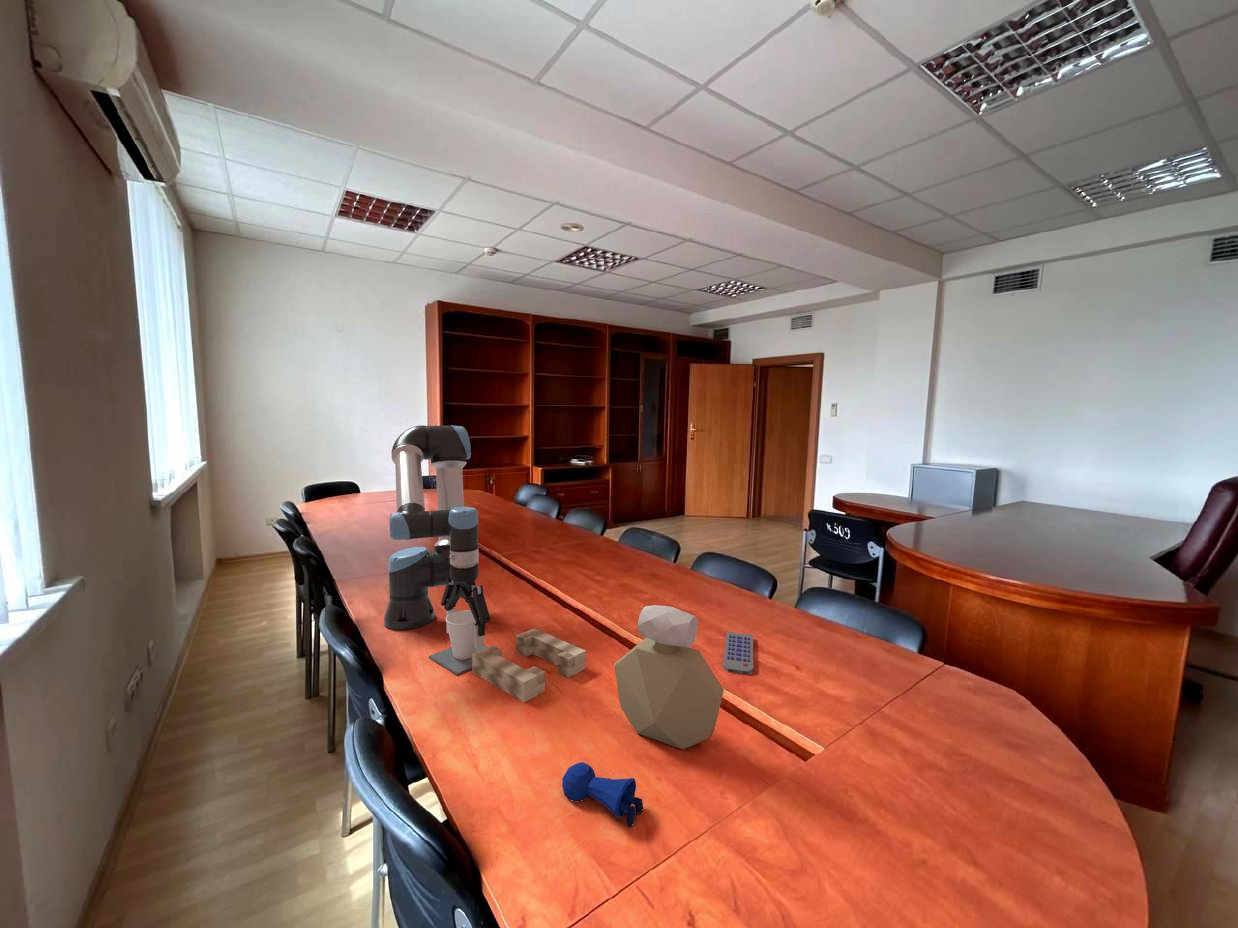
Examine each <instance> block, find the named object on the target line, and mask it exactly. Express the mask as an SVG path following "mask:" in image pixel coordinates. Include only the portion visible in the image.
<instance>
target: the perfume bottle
mask: <svg viewBox="0 0 1238 928" xmlns="http://www.w3.org/2000/svg"><path fill="white" fill-rule="evenodd" d="M637 621H638V622H637V631H638V633H639V635H640V636H643V637H644V638H643V639H642V640H641V641H640V642H638V644H636V645H635V646H633V648H631V649H630V650H629V651H628V652H627V653H626V654H624V655H623V656H622V657H620V659H618V660H617V661H616V662H615V663H613V666H614V673H615V679H616V680H615V681H616V685H617V693H618V700H619V706H620V707H619V708H620V709H621V711H622V712H623V714H624V715H625V717H626V718H627V720H628V722H629V723H630V724H631V726H632V728H633V729H634V731H635V732H636V734H638V735H641V736H643V737H647V738H649V739H653V740H654V741H658V742H660V743H664V744H665V745H669V746H671V747H674V748H677V749H680V750H686V749H688V748H691V747H693V746H695V745H696V744H699V743H701V742H703V741H705V740H707V739H709V738H711V737H712V735H713V733H714V731H715V729H716V725H717V720H718V716H719V712H720V707H721V704H722V699H723V695H724V691H725V689H724V688H723V686H722V684H721V682H720V681H719V680H718V678H717V676H716V675H715V674H714V672H713V670H712V669H711V668H710V666H709V664H708V662H707V661H706V660H705V658H704V656H703V655H702V653H701V651H700V650H699V649H697V648H691V647H692V646H693V645H694V643H695V642H696V639H697V635H698V629H699V623H698V618H697V616H696V615H693V614H691V613H688V612H685V611H683V610H681V609H678V608H675V607H673V606H668V605H659V604H657V605H646V606H644V607H643V609H641V610H640V614H639V617H638V620H637Z"/></svg>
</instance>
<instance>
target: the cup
mask: <svg viewBox="0 0 1238 928" xmlns="http://www.w3.org/2000/svg"><path fill="white" fill-rule="evenodd" d="M445 622H447V624H446V627H447V626H448V631H449V633H448V635H449V640H450V645H451V647H452V651H453V656H454V657H455V658H456V659H459V660H466V659H470V658H472V654H473V653H475V652H477V648H474V624H475V623H476V621H475V619H474V617H473V614H472V612H471V609H468V610H467V609H465V610H463V609H462V610H458V611H456V612H454V613H452V614H450V615H448V616H447V617H445Z"/></svg>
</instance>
